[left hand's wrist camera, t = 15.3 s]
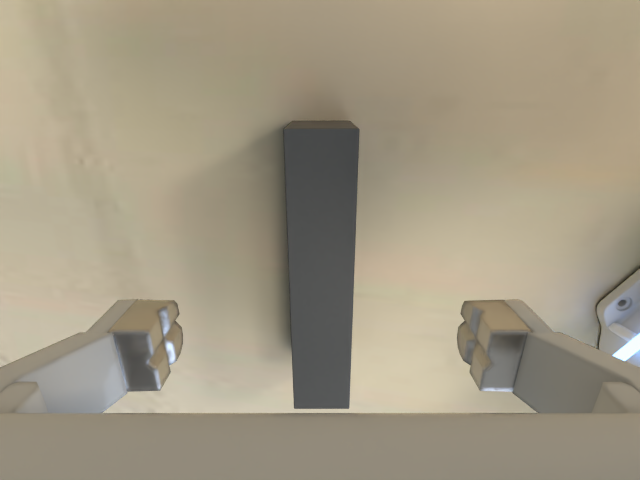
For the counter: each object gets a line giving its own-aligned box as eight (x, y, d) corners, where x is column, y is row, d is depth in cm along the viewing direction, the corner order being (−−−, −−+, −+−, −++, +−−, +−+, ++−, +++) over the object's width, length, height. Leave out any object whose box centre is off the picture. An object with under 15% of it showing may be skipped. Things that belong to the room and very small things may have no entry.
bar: (292, 120, 33) (283, 128, 25) (350, 120, 33) (359, 128, 25) (298, 351, 42) (294, 408, 34) (343, 350, 42) (349, 409, 34)
